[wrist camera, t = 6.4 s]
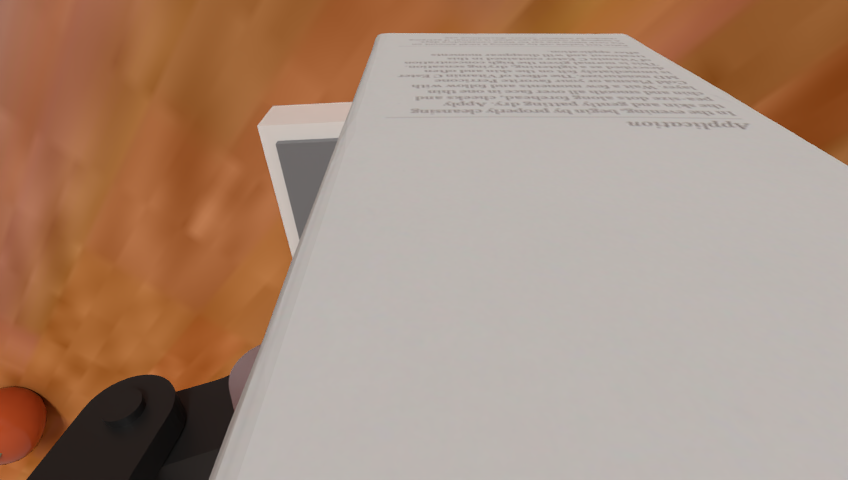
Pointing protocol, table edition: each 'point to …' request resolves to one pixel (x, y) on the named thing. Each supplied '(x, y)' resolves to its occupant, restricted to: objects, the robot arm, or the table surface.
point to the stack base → (300, 156)
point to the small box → (555, 280)
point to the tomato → (20, 423)
